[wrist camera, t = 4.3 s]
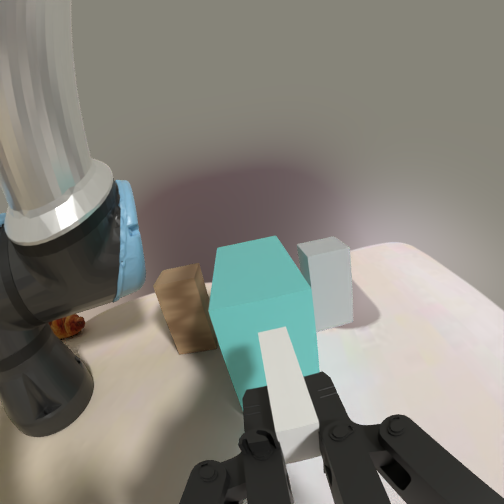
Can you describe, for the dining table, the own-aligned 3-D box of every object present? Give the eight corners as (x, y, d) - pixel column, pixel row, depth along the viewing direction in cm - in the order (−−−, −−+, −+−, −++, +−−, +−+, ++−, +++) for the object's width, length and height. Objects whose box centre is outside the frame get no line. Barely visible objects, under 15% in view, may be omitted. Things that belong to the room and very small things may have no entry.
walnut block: (179, 354, 33) (153, 285, 30) (184, 333, 37) (162, 270, 34) (216, 348, 33) (194, 277, 30) (217, 327, 37) (198, 262, 34)
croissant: (30, 351, 42) (6, 333, 36) (41, 315, 49) (20, 295, 43) (89, 354, 40) (61, 332, 34) (100, 308, 47) (77, 284, 41)
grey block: (316, 332, 32) (307, 256, 29) (306, 312, 37) (296, 244, 34) (353, 321, 32) (349, 247, 29) (339, 304, 37) (333, 236, 34)
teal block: (245, 418, 21) (208, 311, 18) (239, 332, 36) (217, 247, 32) (321, 402, 21) (311, 288, 18) (290, 321, 36) (275, 235, 32)
